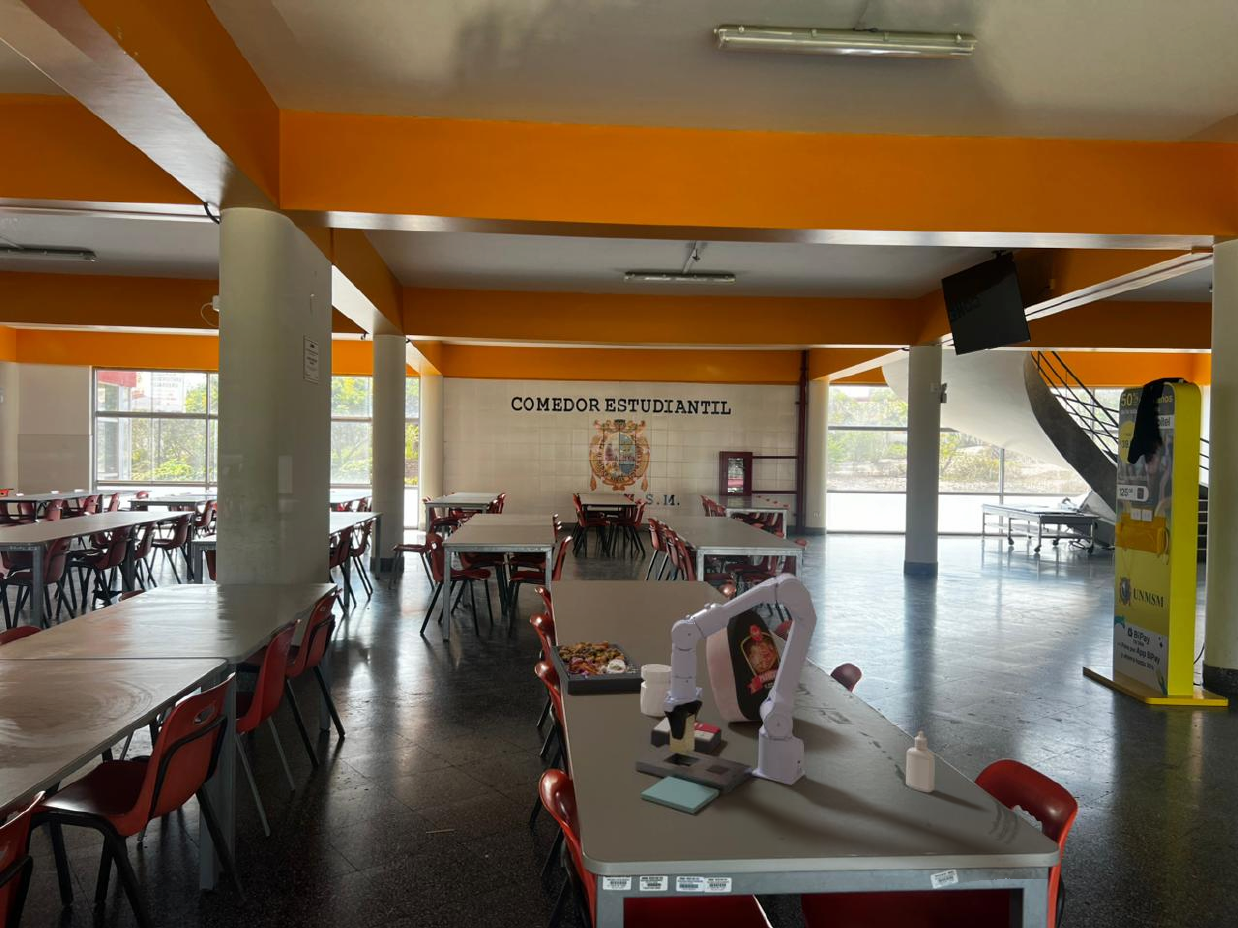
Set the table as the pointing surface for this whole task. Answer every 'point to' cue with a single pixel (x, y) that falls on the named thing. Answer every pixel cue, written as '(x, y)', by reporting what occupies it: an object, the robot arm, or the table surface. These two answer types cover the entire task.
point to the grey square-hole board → (695, 768)
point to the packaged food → (742, 666)
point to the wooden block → (684, 737)
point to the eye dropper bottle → (920, 766)
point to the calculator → (703, 738)
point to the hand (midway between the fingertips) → (682, 735)
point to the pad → (680, 794)
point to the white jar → (654, 688)
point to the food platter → (595, 668)
